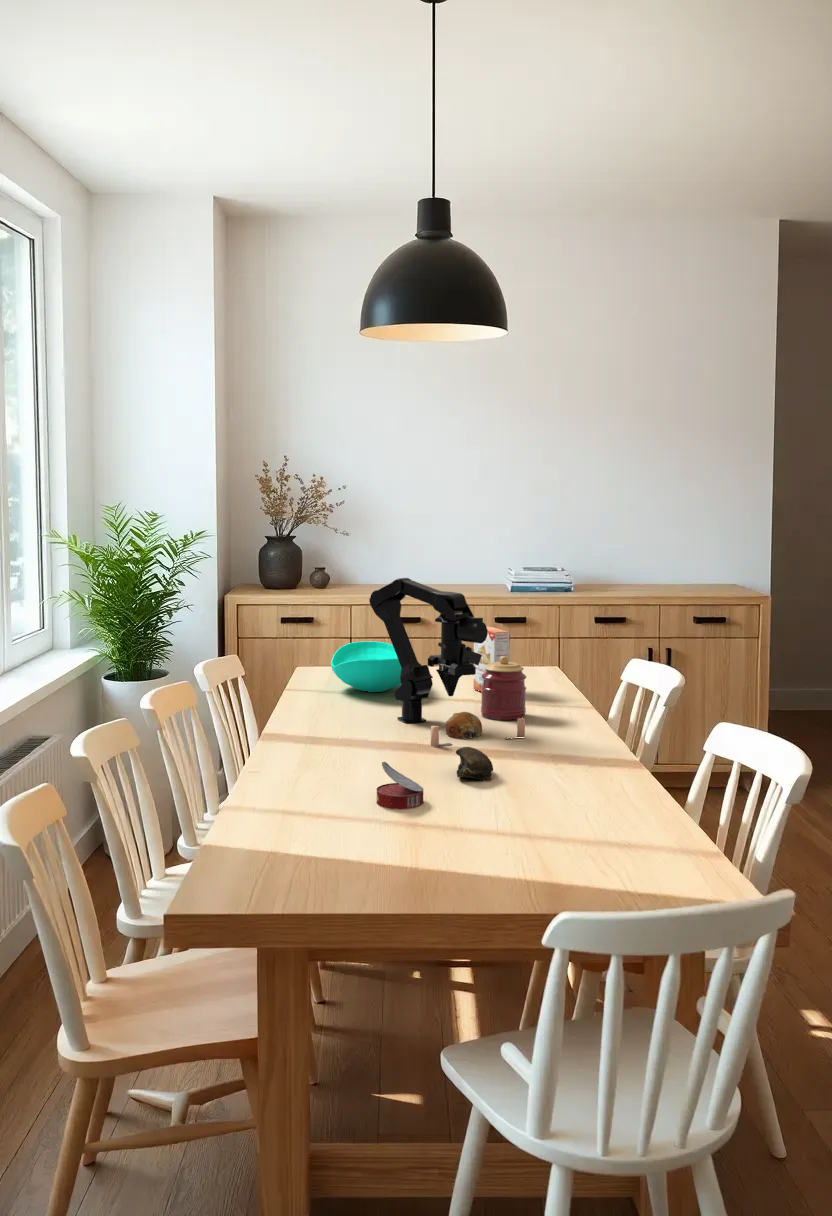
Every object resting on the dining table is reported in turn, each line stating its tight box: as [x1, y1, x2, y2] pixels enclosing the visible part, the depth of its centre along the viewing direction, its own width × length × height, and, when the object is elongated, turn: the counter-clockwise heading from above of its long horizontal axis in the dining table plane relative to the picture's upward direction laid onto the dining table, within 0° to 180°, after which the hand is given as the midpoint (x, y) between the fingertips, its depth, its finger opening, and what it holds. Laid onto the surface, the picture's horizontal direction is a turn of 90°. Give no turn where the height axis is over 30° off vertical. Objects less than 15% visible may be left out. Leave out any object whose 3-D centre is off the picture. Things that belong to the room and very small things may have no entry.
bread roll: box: [445, 711, 483, 739], centre depth 292 cm, size 10×10×8 cm
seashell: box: [455, 746, 494, 782], centre depth 251 cm, size 16×9×7 cm, turn 1°
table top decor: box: [330, 641, 402, 693], centre depth 354 cm, size 40×28×13 cm
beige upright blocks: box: [430, 717, 526, 747], centre depth 284 cm, size 2×27×5 cm, turn 114°
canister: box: [480, 656, 527, 721], centre depth 315 cm, size 13×13×18 cm
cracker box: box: [473, 625, 511, 693], centre depth 351 cm, size 14×6×21 cm, turn 25°
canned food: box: [376, 761, 424, 810], centre depth 229 cm, size 11×10×10 cm
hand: (450, 696), depth 299 cm, fingers closed
